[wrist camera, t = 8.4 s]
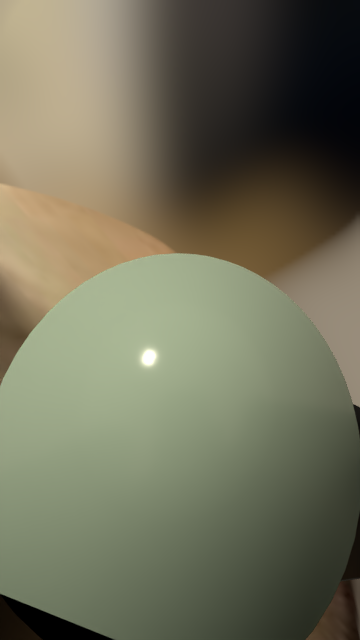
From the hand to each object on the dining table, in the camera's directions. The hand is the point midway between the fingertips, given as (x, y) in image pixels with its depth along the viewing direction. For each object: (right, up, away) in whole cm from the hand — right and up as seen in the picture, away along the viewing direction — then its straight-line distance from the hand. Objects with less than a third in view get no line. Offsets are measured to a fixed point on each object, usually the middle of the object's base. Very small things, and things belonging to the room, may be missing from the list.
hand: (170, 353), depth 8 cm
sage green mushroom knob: (-1, -3, +6) cm, 7 cm away
